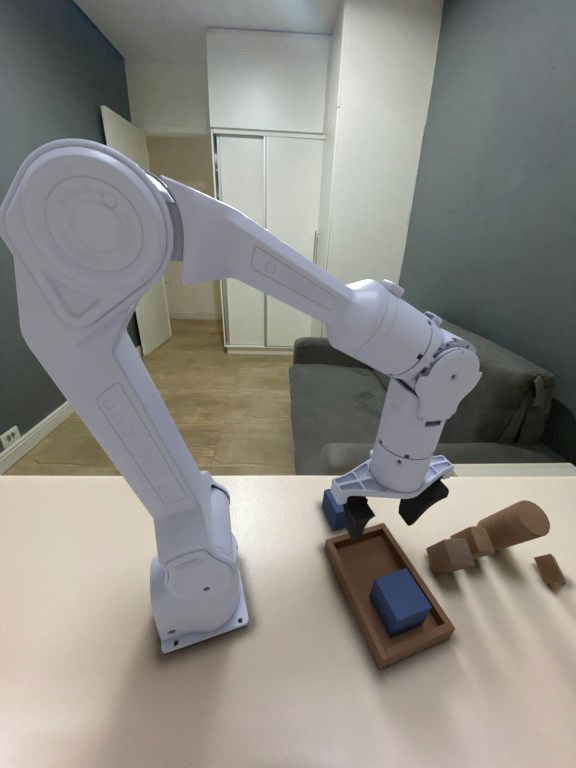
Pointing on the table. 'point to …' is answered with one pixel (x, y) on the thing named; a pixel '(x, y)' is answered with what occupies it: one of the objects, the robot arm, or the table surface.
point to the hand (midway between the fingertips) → (379, 526)
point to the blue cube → (399, 602)
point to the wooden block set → (496, 540)
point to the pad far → (333, 511)
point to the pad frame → (357, 576)
